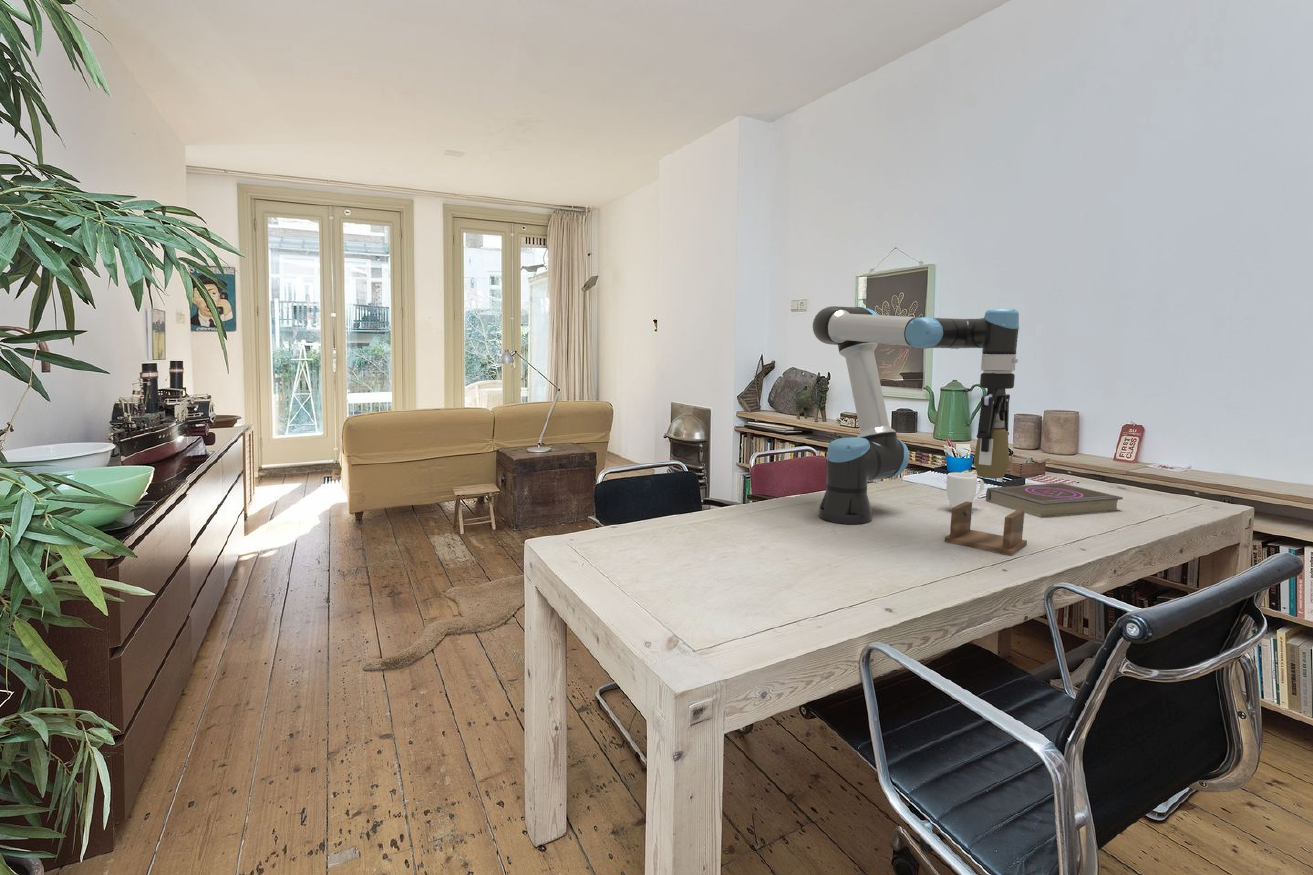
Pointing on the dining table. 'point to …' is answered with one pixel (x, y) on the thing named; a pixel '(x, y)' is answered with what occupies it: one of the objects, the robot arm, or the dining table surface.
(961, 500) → the mug
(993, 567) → the dining table surface
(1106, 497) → the book
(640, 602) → the dining table surface
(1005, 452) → the squeeze bottle
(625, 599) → the dining table surface
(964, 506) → the holder
